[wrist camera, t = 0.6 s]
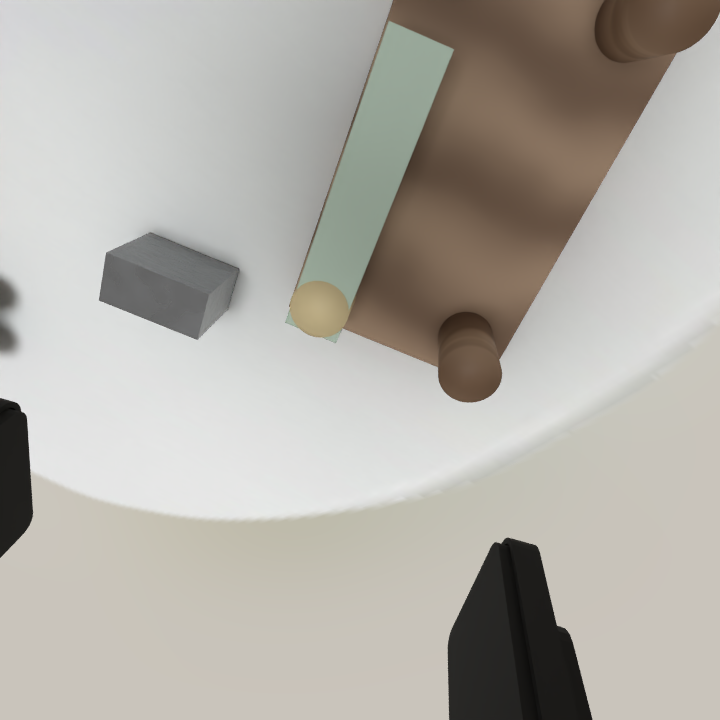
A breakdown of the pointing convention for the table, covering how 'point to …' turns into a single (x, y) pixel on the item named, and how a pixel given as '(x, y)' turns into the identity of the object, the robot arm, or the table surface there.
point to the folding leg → (368, 178)
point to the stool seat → (506, 166)
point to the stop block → (168, 284)
